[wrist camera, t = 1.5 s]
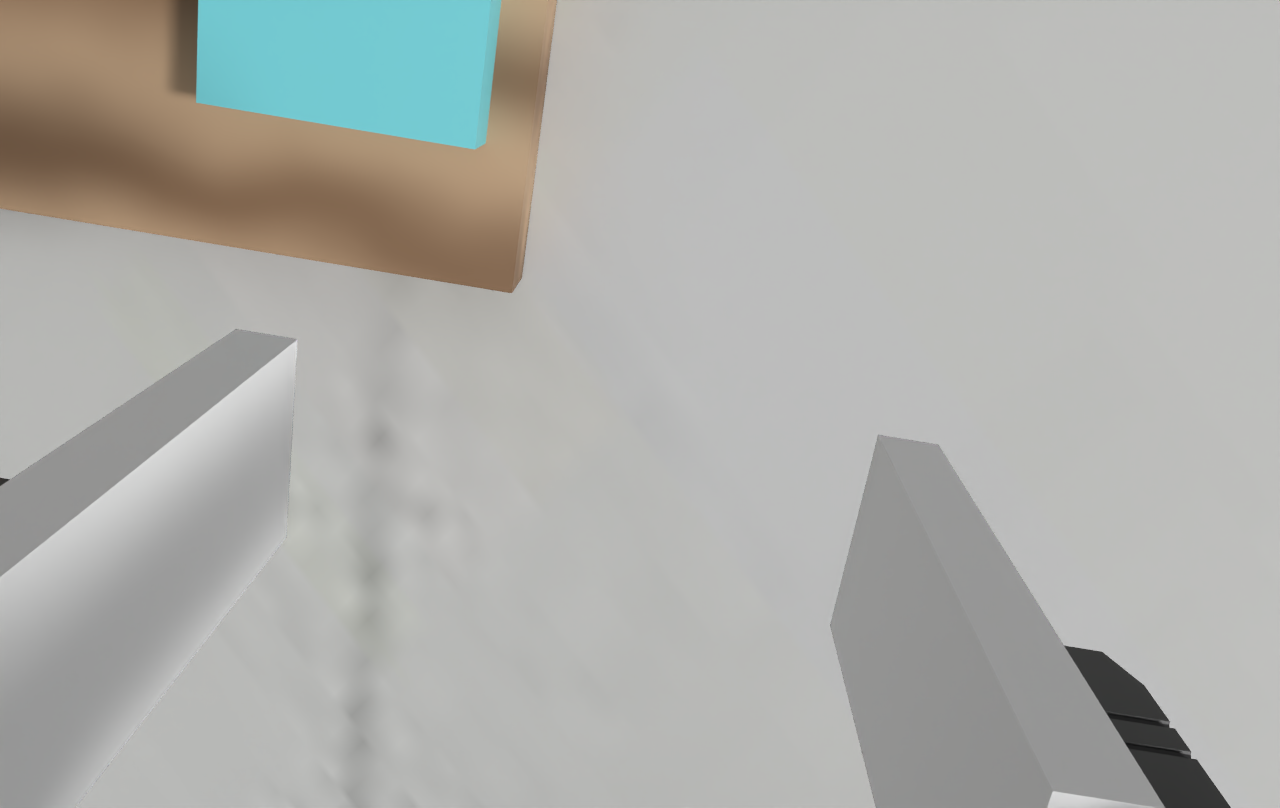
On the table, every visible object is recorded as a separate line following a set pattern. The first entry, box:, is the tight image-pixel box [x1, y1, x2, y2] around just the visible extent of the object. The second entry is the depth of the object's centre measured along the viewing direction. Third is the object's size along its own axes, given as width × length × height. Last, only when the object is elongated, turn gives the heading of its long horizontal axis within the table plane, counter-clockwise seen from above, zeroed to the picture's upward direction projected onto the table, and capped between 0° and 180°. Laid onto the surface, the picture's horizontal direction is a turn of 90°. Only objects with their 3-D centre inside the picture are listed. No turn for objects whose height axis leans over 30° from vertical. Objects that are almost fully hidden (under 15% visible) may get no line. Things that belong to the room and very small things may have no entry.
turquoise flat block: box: [196, 0, 501, 149], centre depth 34 cm, size 6×9×2 cm, turn 81°
